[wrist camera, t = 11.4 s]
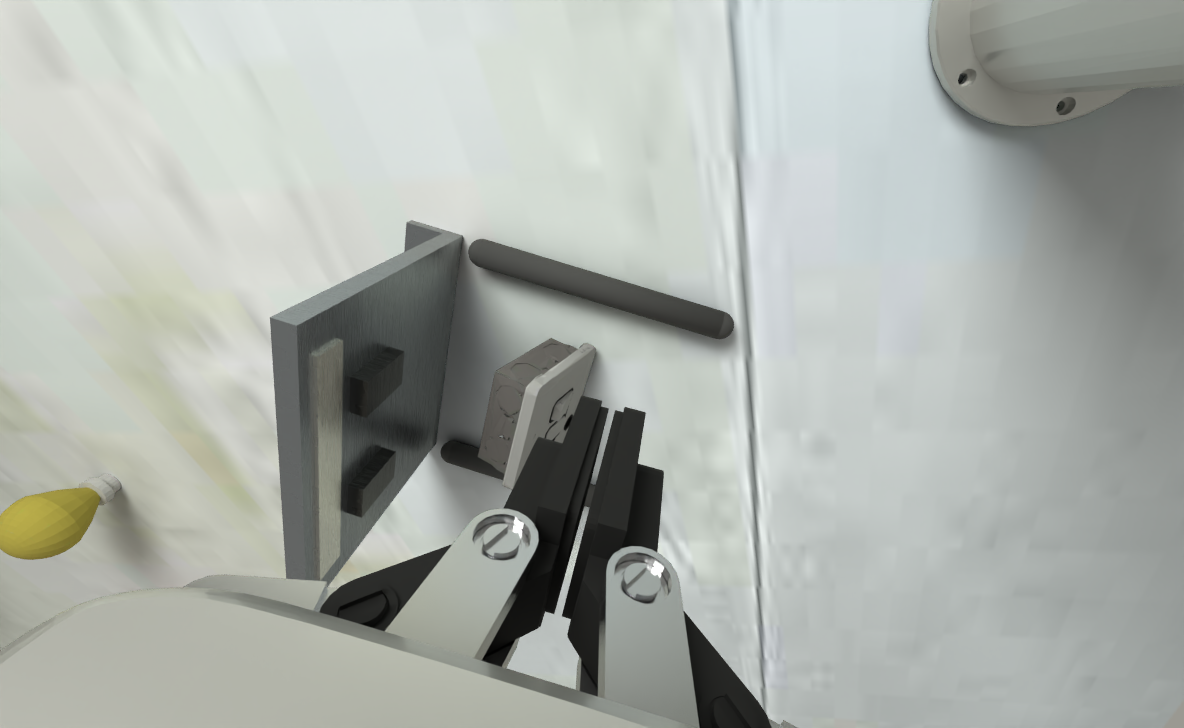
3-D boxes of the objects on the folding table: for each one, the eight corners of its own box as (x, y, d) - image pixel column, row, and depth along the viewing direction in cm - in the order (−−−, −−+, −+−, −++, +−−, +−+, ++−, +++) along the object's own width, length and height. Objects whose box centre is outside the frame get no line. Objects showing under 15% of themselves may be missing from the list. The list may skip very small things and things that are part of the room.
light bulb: (119, 458, 54) (10, 524, 46) (149, 505, 57) (52, 576, 48) (71, 458, 56) (-43, 522, 47) (104, 504, 59) (1, 573, 50)
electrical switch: (570, 434, 43) (533, 504, 35) (516, 413, 44) (467, 477, 36) (599, 342, 39) (564, 397, 31) (539, 320, 40) (489, 368, 31)
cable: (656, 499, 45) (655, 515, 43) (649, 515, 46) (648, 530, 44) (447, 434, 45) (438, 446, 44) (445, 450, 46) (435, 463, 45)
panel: (475, 239, 37) (318, 332, 21) (445, 446, 46) (322, 619, 30) (411, 220, 37) (208, 298, 21) (395, 430, 46) (245, 594, 30)
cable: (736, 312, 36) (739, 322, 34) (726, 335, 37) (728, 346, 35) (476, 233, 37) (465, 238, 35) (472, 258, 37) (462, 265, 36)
